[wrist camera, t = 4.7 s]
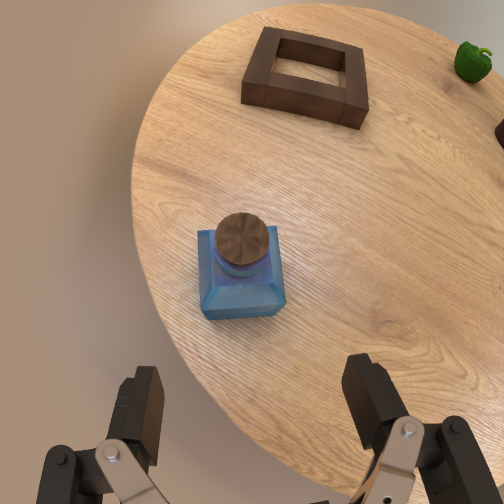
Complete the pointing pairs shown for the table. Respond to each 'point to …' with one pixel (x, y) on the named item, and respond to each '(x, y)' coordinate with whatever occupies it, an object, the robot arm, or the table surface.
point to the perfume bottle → (240, 269)
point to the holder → (304, 90)
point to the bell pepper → (472, 62)
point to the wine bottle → (500, 133)
